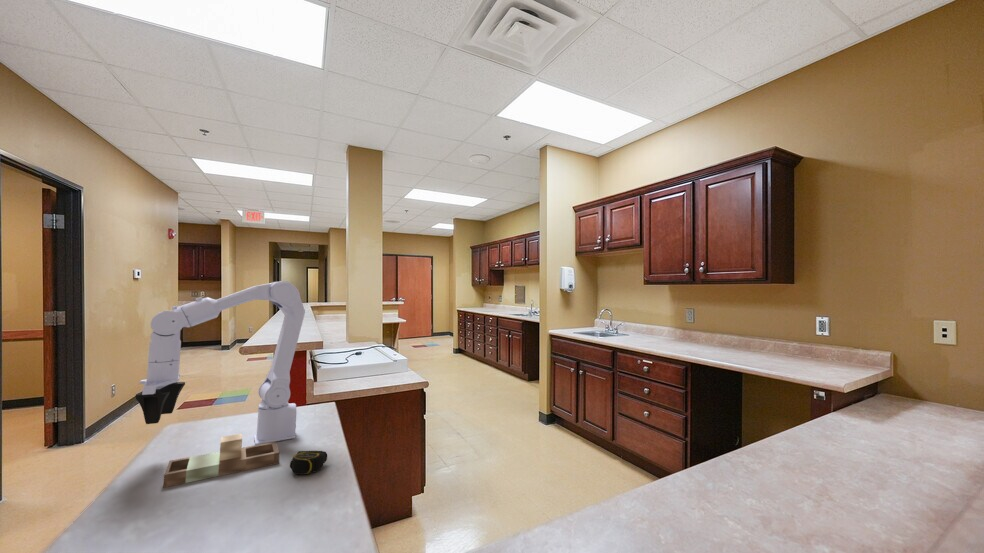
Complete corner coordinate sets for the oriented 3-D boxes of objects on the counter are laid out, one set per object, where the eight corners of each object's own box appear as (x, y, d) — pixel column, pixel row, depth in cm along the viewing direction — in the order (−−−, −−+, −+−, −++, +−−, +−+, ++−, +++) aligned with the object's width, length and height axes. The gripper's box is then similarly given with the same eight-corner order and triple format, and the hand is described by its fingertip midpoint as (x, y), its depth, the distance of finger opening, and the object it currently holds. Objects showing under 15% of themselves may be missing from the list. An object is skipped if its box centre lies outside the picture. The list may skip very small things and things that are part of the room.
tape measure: (328, 464, 86) (329, 448, 86) (316, 478, 79) (317, 460, 80) (298, 464, 86) (299, 448, 86) (284, 478, 79) (285, 460, 79)
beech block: (240, 450, 86) (241, 433, 87) (240, 456, 83) (242, 438, 83) (219, 454, 84) (221, 437, 84) (219, 460, 81) (220, 442, 81)
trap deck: (275, 451, 92) (275, 441, 92) (278, 463, 86) (279, 452, 86) (168, 472, 80) (169, 460, 80) (163, 487, 74) (164, 475, 74)
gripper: (156, 356, 92) (152, 411, 91) (126, 366, 79) (121, 430, 78) (191, 355, 95) (187, 408, 94) (167, 364, 82) (162, 426, 81)
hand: (159, 418), depth 86 cm, fingers open, 7 cm apart
